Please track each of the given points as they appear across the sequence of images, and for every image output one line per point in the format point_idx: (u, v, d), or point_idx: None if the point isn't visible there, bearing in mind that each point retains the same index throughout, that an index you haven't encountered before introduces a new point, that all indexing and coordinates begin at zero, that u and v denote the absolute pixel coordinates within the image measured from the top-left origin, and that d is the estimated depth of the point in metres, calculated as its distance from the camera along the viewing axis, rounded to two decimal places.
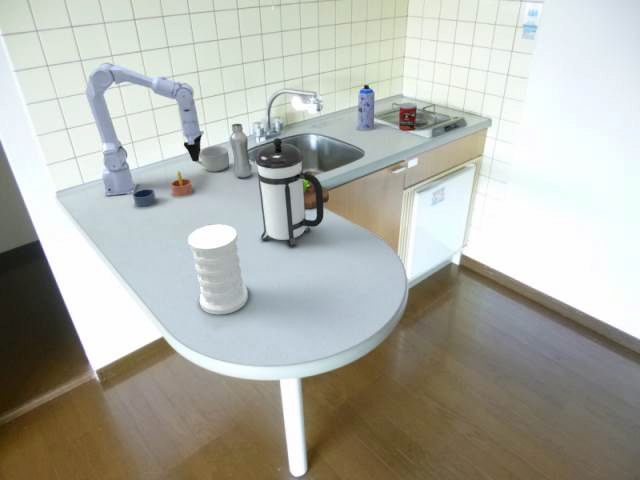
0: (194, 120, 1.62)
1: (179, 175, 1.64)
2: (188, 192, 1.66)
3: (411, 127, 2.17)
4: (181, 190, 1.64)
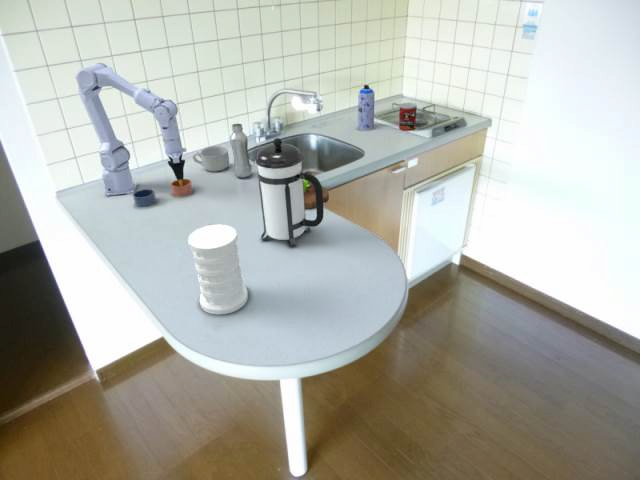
0: (173, 138, 1.55)
1: None
2: (188, 192, 1.66)
3: (411, 127, 2.17)
4: (181, 190, 1.64)
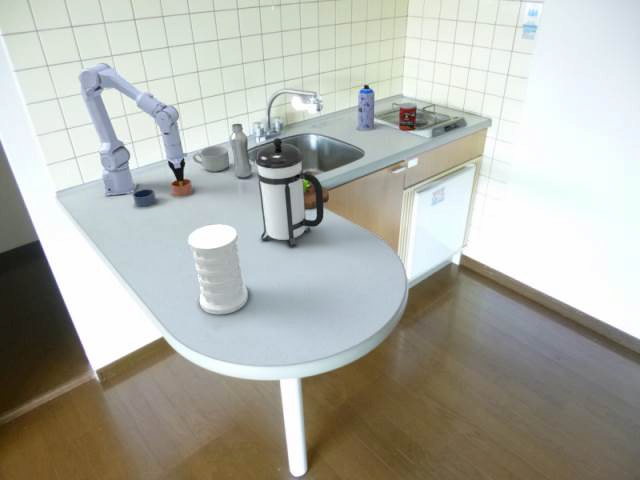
0: (174, 144, 1.56)
1: None
2: (188, 192, 1.66)
3: (411, 127, 2.17)
4: (181, 190, 1.64)
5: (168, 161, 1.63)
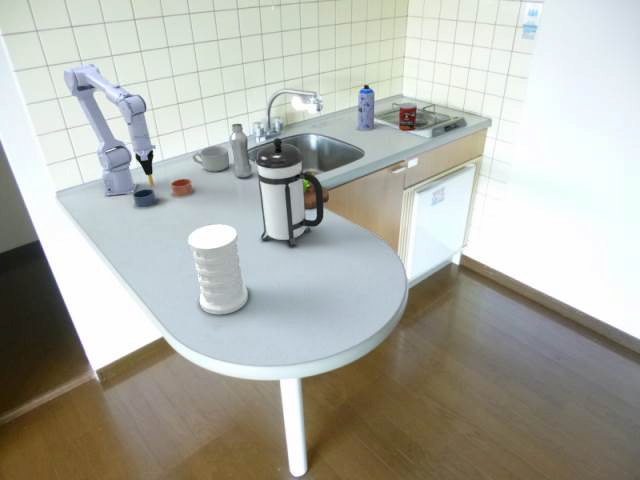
0: (137, 136, 1.49)
1: None
2: (188, 192, 1.66)
3: (411, 127, 2.17)
4: (181, 190, 1.64)
5: (136, 153, 1.55)
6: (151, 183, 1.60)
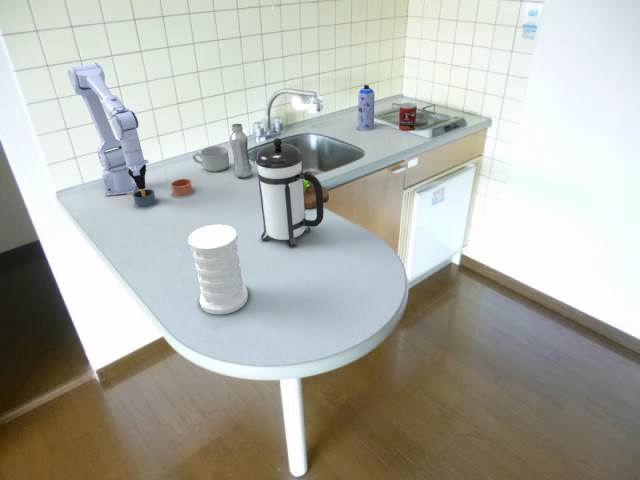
0: (128, 151, 1.49)
1: None
2: (188, 192, 1.66)
3: (411, 127, 2.17)
4: (181, 190, 1.64)
5: (128, 168, 1.56)
6: None
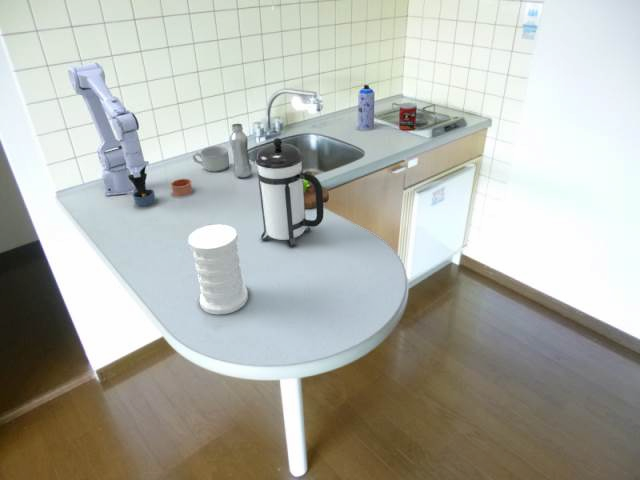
0: (128, 153, 1.49)
1: None
2: (188, 192, 1.66)
3: (411, 127, 2.17)
4: (181, 190, 1.64)
5: None
6: None
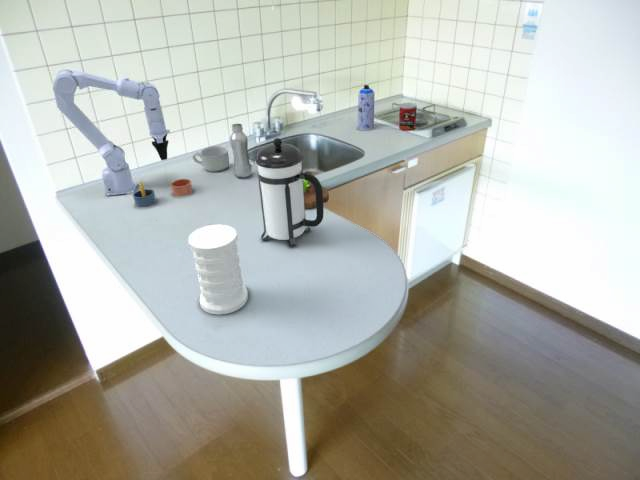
0: (161, 119, 1.64)
1: (141, 185, 1.58)
2: (188, 192, 1.66)
3: (411, 127, 2.17)
4: (181, 190, 1.64)
5: None
6: None
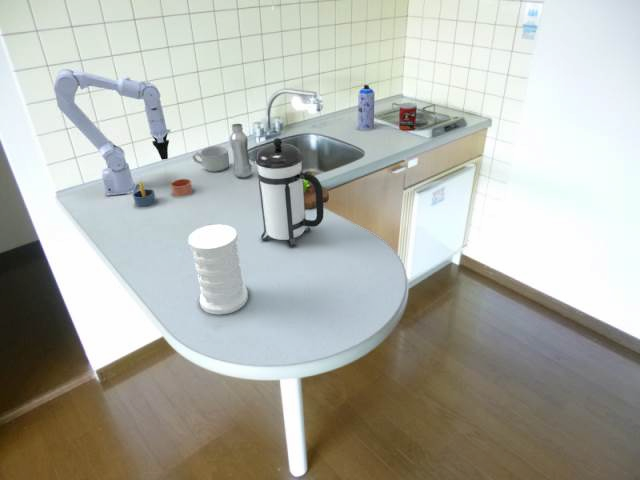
0: (161, 118, 1.64)
1: (141, 185, 1.58)
2: (188, 192, 1.66)
3: (411, 127, 2.17)
4: (181, 190, 1.64)
5: None
6: None
